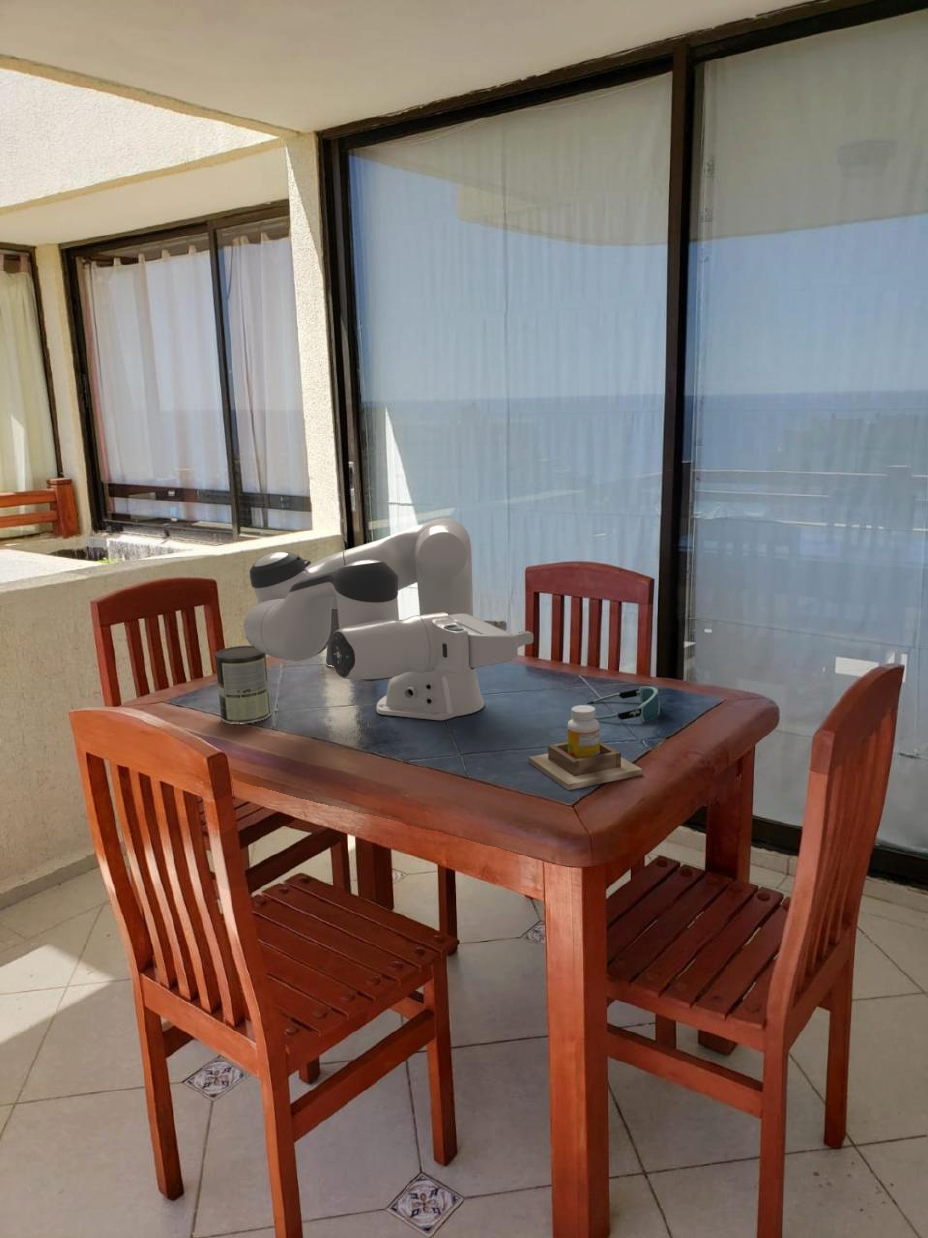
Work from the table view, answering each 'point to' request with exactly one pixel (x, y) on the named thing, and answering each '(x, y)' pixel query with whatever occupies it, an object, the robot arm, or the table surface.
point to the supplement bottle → (583, 733)
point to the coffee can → (242, 684)
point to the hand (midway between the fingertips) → (517, 630)
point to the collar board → (583, 766)
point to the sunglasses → (648, 705)
